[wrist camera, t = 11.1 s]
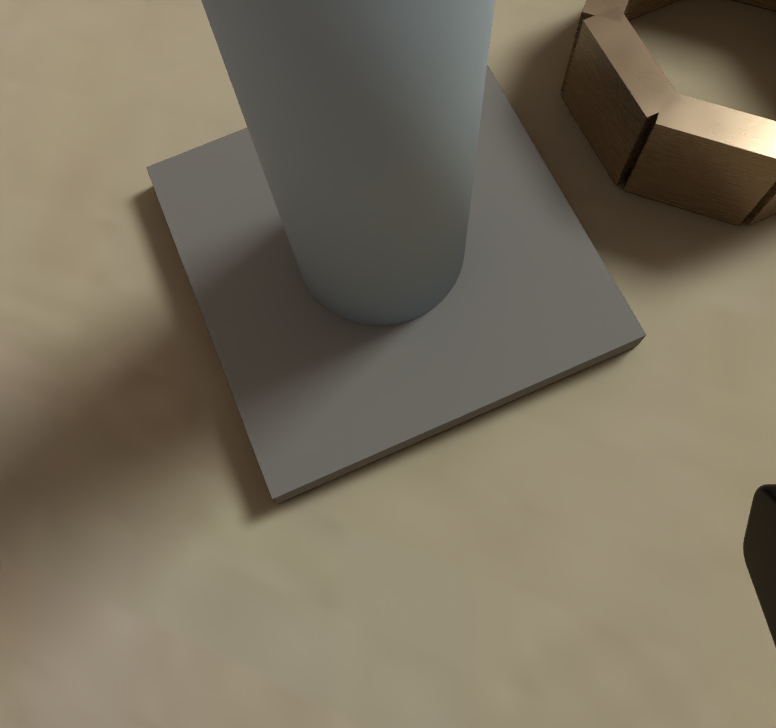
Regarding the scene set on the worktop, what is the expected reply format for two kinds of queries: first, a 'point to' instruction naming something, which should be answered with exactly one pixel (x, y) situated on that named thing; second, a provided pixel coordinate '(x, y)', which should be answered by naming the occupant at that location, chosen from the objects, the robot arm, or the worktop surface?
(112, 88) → the worktop surface
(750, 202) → the bronze collar
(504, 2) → the worktop surface
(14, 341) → the worktop surface
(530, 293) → the gray base plate
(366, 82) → the slate peg
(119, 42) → the worktop surface
